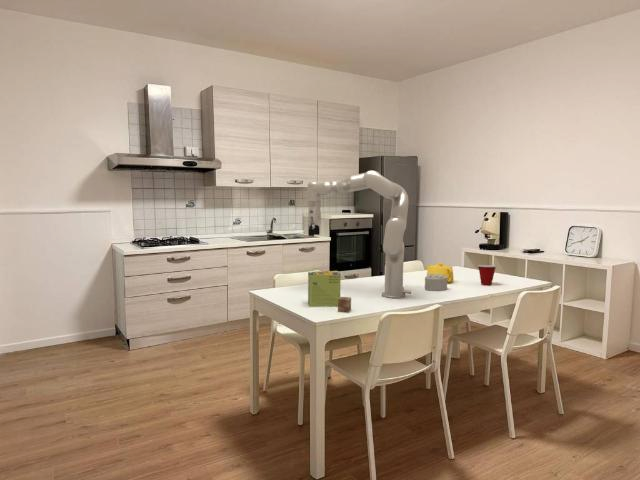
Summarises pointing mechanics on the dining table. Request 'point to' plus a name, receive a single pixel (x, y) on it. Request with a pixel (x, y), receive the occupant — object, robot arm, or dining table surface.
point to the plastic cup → (486, 274)
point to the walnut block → (344, 304)
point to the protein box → (323, 288)
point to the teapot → (441, 271)
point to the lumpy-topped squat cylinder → (435, 282)
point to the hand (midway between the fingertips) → (314, 235)
